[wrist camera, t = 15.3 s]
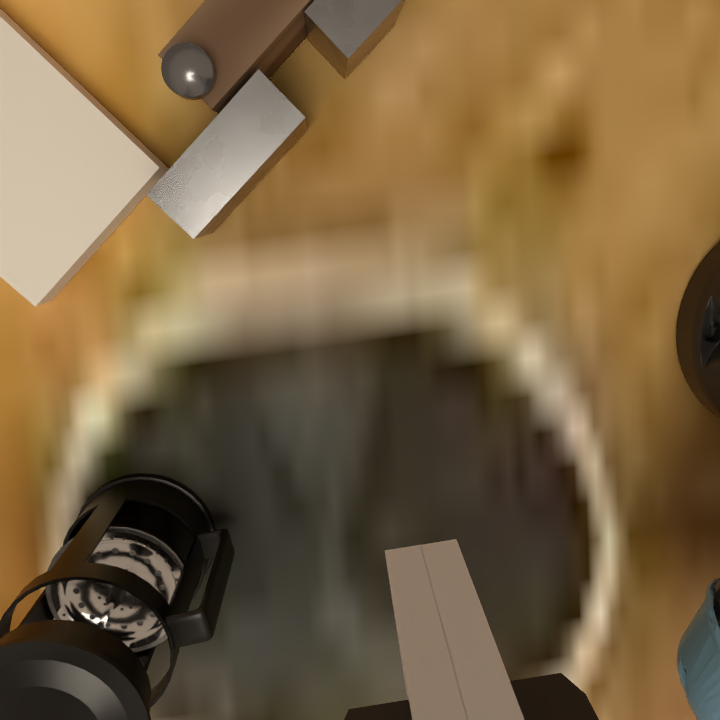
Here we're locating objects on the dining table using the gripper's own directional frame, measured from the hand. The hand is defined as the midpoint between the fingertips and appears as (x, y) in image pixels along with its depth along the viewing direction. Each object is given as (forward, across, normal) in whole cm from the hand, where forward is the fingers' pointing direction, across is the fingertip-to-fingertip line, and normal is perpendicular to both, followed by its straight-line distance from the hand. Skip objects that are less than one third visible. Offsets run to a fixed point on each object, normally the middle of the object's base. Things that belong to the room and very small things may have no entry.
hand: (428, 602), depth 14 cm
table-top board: (+29, -20, +16) cm, 39 cm away
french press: (+30, -16, -12) cm, 36 cm away
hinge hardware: (+29, -4, +15) cm, 33 cm away
